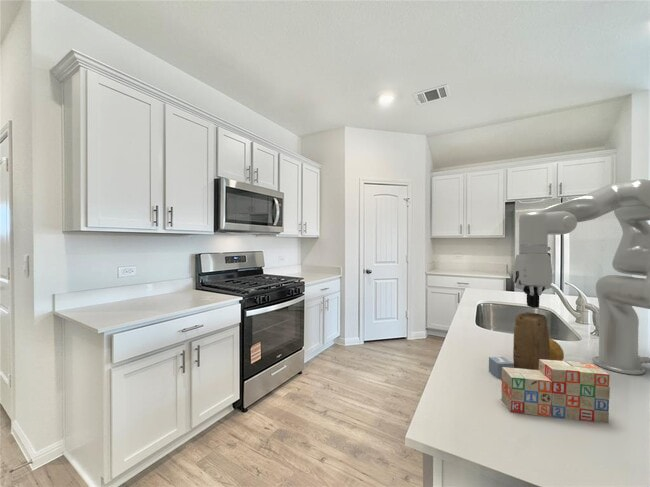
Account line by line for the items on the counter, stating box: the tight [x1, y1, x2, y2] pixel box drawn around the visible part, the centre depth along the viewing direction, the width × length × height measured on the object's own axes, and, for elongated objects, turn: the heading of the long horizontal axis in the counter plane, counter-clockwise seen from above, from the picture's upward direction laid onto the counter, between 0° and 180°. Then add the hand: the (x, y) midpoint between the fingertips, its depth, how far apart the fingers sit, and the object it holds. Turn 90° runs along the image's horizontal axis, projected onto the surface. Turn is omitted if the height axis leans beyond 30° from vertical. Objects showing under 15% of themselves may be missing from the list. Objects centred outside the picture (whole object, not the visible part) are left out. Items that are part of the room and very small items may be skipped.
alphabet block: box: [488, 356, 514, 380], centre depth 94 cm, size 5×5×5 cm
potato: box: [549, 337, 565, 361], centre depth 104 cm, size 10×13×9 cm
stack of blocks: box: [501, 359, 611, 424], centre depth 74 cm, size 21×6×12 cm, turn 78°
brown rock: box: [512, 311, 550, 370], centre depth 93 cm, size 11×8×20 cm
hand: (532, 306), depth 93 cm, fingers closed
